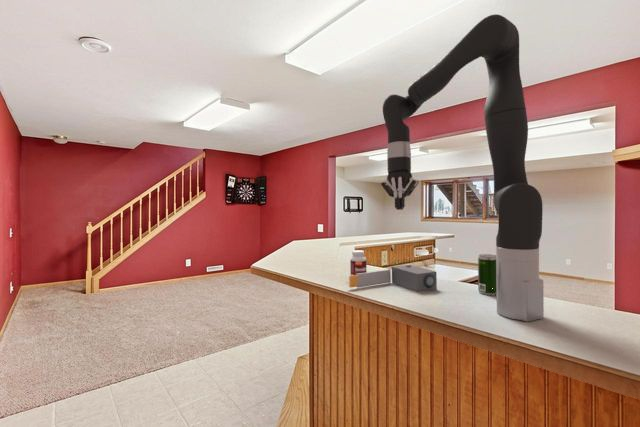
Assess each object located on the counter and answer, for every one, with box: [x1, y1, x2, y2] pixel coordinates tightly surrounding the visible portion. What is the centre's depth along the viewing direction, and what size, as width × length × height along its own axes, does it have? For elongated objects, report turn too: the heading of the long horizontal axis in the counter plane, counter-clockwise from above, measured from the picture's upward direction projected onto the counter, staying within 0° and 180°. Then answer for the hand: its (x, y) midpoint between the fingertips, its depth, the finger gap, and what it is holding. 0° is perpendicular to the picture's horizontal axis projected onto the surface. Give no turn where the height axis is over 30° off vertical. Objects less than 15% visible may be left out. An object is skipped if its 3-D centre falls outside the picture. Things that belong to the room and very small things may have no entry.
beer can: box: [477, 253, 497, 296], centre depth 100 cm, size 5×5×12 cm
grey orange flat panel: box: [348, 268, 392, 289], centre depth 112 cm, size 18×1×5 cm, turn 116°
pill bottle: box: [349, 249, 367, 276], centre depth 122 cm, size 6×6×11 cm
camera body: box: [391, 263, 438, 293], centre depth 110 cm, size 15×8×7 cm, turn 22°
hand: (399, 209), depth 105 cm, fingers closed
